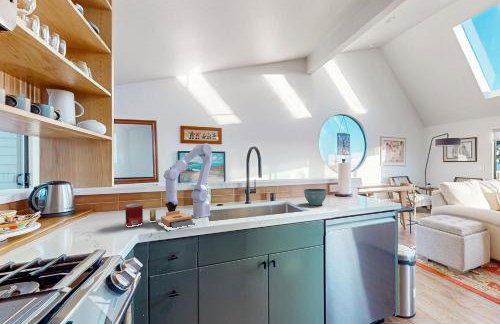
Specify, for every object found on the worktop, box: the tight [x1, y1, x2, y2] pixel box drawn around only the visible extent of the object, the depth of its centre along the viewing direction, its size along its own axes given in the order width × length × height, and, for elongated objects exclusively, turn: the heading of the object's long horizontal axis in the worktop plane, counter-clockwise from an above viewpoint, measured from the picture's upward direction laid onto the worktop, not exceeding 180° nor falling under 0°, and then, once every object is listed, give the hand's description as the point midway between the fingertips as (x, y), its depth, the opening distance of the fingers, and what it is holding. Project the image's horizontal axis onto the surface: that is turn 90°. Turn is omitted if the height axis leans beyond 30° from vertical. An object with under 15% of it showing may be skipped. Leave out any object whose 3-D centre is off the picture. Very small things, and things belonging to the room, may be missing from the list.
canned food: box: [125, 202, 144, 226], centre depth 111 cm, size 8×8×11 cm
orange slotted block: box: [160, 210, 193, 227], centre depth 111 cm, size 12×11×5 cm
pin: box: [149, 208, 157, 222], centre depth 117 cm, size 3×3×7 cm
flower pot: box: [303, 188, 327, 206], centre depth 157 cm, size 16×16×11 cm
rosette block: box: [170, 219, 196, 228], centre depth 112 cm, size 14×18×3 cm
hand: (171, 215), depth 117 cm, fingers closed
